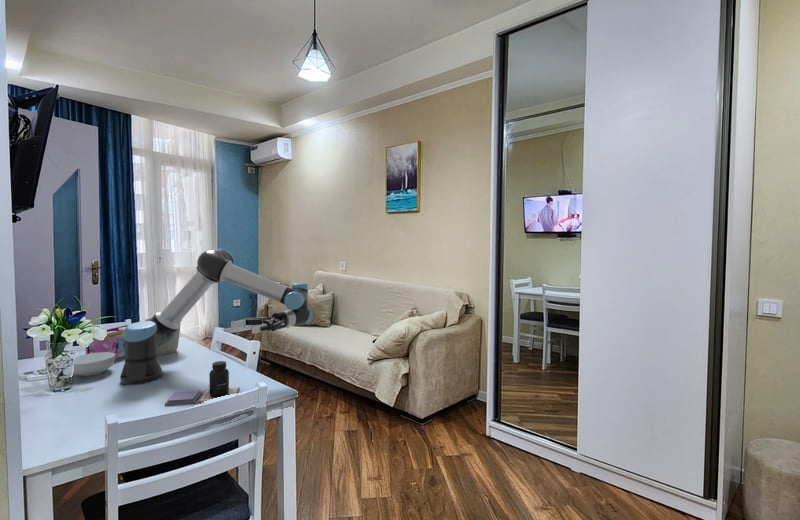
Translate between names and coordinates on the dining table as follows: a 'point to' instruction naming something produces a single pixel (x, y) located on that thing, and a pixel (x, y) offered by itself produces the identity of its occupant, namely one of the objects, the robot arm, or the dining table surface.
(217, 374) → the supplement bottle
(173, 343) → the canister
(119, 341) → the gum box
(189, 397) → the ink pad
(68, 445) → the dining table surface
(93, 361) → the cereal bowl
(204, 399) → the marked board
